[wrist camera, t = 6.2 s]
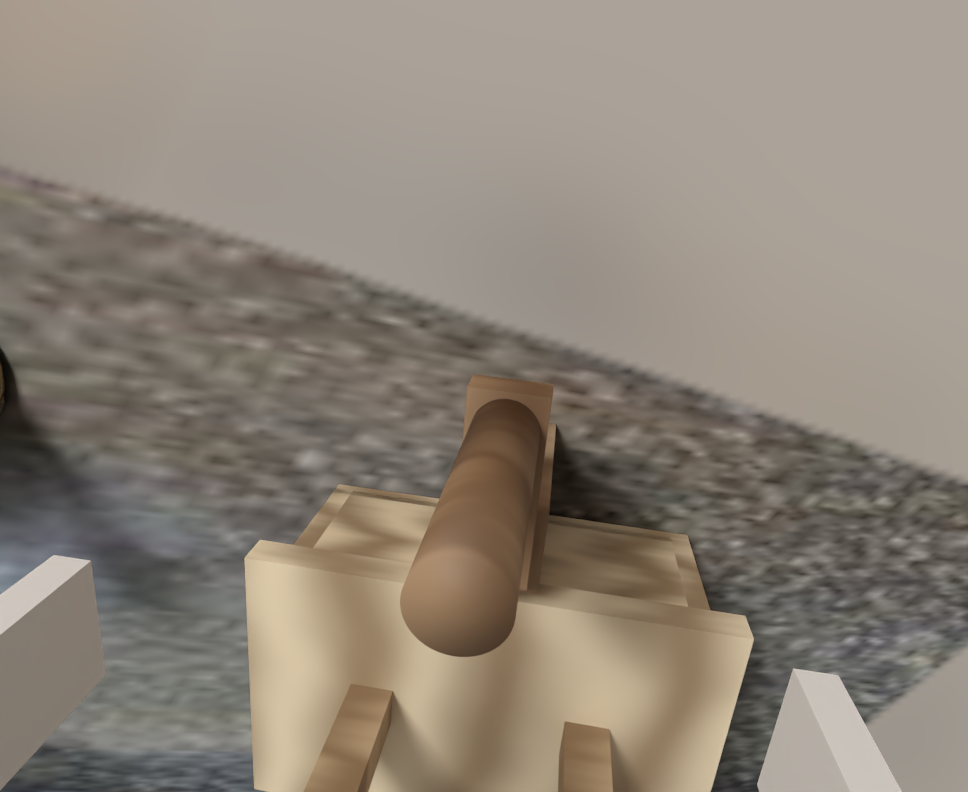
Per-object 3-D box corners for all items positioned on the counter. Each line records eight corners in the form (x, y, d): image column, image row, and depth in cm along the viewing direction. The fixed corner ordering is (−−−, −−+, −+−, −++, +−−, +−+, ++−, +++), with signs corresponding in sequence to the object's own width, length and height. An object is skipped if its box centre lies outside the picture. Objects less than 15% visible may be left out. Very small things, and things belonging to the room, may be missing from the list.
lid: (275, 748, 36) (150, 987, 25) (269, 528, 31) (113, 711, 21) (679, 824, 34) (726, 1119, 23) (739, 601, 29) (832, 845, 18)
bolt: (457, 557, 27) (378, 815, 16) (473, 374, 24) (391, 537, 13) (529, 568, 27) (497, 838, 16) (553, 384, 24) (535, 559, 13)
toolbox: (336, 649, 42) (272, 778, 33) (340, 395, 36) (263, 469, 27) (649, 702, 40) (670, 855, 31) (707, 444, 34) (754, 541, 25)
